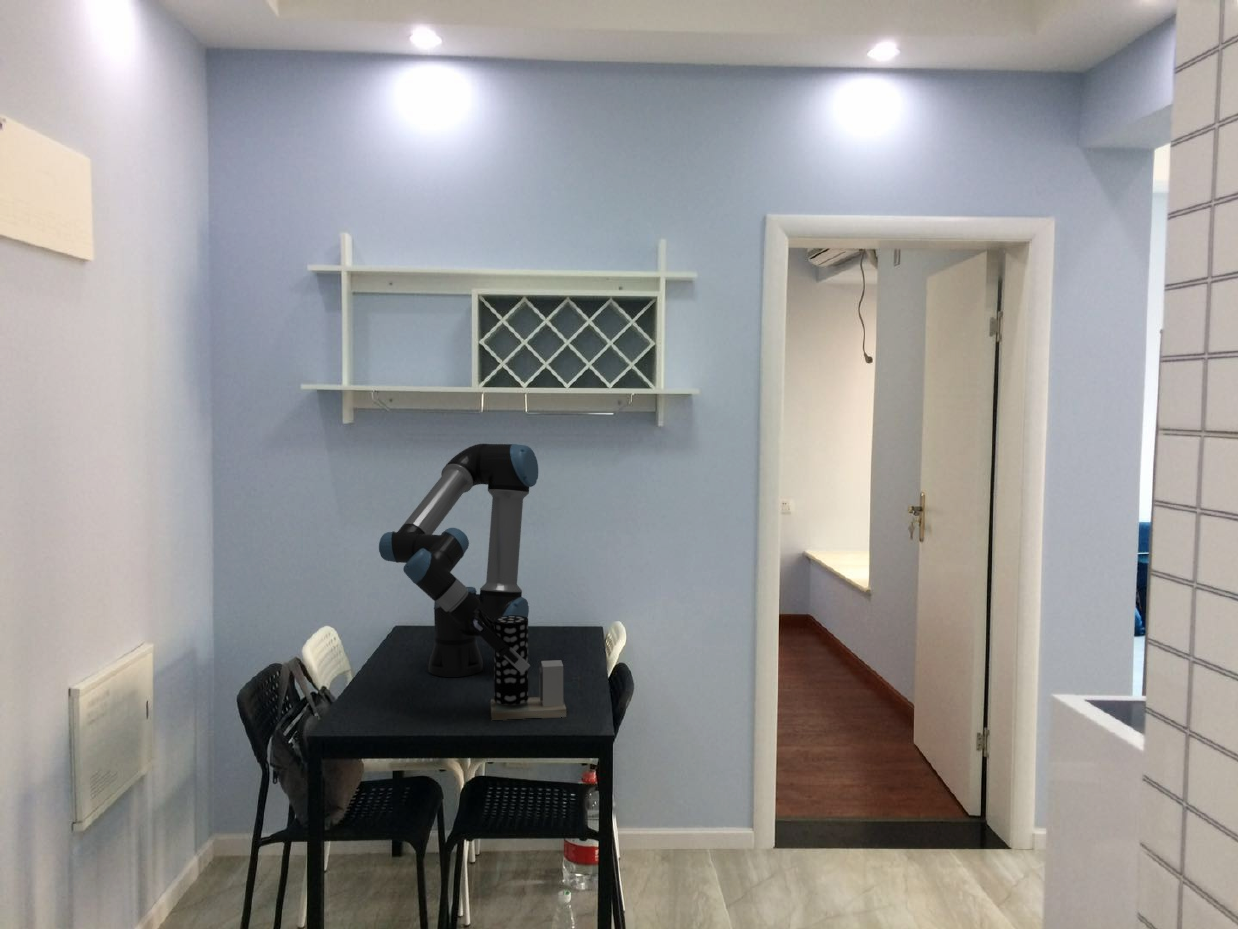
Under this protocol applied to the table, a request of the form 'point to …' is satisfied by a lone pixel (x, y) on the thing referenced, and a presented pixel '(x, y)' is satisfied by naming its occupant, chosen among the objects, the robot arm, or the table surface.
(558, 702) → the block
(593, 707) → the table surface
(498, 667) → the white-spotted black cylinder
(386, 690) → the table surface
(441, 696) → the table surface
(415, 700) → the table surface
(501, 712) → the beige rectangular board
